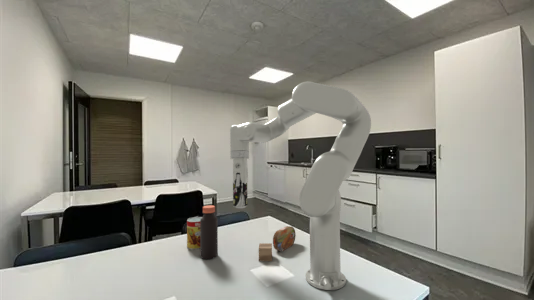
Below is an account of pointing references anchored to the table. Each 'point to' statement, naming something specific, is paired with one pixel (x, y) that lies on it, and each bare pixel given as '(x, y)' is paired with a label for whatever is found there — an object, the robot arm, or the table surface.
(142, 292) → the table surface
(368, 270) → the table surface
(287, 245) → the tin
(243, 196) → the beverage can
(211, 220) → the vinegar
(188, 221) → the canned food
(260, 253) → the tan cube
